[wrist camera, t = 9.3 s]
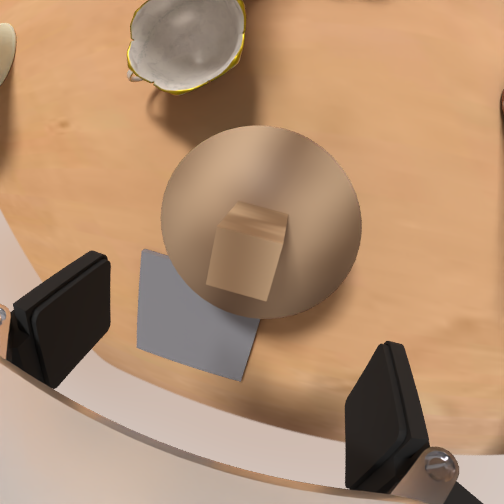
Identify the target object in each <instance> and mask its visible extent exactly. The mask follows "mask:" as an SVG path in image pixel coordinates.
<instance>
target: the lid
mask: <svg viewBox="0 0 504 504" xmlns="http://www.w3.org/2000/svg"><path fill="white" fill-rule="evenodd" d="M361 229H362V220H361V212H360V206H359V202H358V199H357V195H356V193H355V190H354V188H353V186H352V183H351V181H350V180H349V178H348V176H347V175H346V173H345V172H344V170H343V168H342V167H341V166H340V165H339V164H338V162H337V161H336V160H335V159H334V158H333V157H332V156H331V155H330V154H329V153H328V152H327V151H326V150H325V149H323V148H322V147H321V146H320V145H318V144H317V143H315V142H314V141H312V140H311V139H309V138H307V137H305V136H303V135H301V134H299V133H296V132H293V131H290V130H287V129H284V128H278V127H272V126H244V127H238V128H234V129H230V130H226V131H223V132H221V133H218V134H216V135H213V136H212V137H210V138H208V139H206V140H205V141H203V142H201V143H200V144H199V145H197V146H196V147H195V148H194V149H192V150H191V151H190V152H189V153H188V154H187V155H186V156H185V157H184V158H183V159H182V161H181V162H180V163H179V165H178V166H177V168H176V169H175V170H174V172H173V174H172V176H171V178H170V180H169V182H168V184H167V187H166V190H165V193H164V197H163V202H162V208H161V230H162V235H163V240H164V244H165V247H166V250H167V253H168V256H169V258H170V260H171V262H172V264H173V266H174V267H175V269H176V271H177V272H178V274H179V275H180V276H181V278H182V279H183V280H184V281H185V283H186V284H187V285H188V286H189V287H190V288H191V289H192V290H193V291H194V292H195V293H196V294H198V295H199V296H200V297H202V298H203V299H204V300H206V301H207V302H209V303H210V304H212V305H214V306H216V307H218V308H220V309H222V310H224V311H226V312H229V313H232V314H235V315H239V316H243V317H248V318H257V319H274V318H282V317H287V316H291V315H295V314H298V313H301V312H303V311H306V310H308V309H310V308H312V307H314V306H316V305H318V304H319V303H320V302H322V301H323V300H325V299H326V298H327V297H329V296H330V295H331V294H332V293H333V292H334V291H335V290H336V289H337V288H338V287H339V286H340V284H341V283H342V282H343V281H344V280H345V278H346V276H347V275H348V273H349V272H350V270H351V268H352V266H353V264H354V261H355V259H356V256H357V253H358V250H359V246H360V240H361Z"/></svg>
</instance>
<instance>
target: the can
mask: <svg viewBox="0 0 504 504" xmlns="http://www.w3.org/2000/svg"><path fill="white" fill-rule="evenodd" d="M15 49H16V34H15V30H14V28H13V27H12V26H11V25H10V24H8V23H0V85H1V84H2V83H3V81H4V80H5V78H6V76H7V74H8V72H9V70H10V67H11V65H12V62H13V58H14V55H15Z"/></svg>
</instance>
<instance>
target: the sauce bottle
mask: <svg viewBox="0 0 504 504" xmlns="http://www.w3.org/2000/svg"><path fill="white" fill-rule="evenodd" d="M501 103H502V110H503V114H504V89H503V93H502V99H501Z"/></svg>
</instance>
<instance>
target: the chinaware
mask: <svg viewBox="0 0 504 504" xmlns="http://www.w3.org/2000/svg"><path fill="white" fill-rule="evenodd" d="M245 30H246V12H245V4H244V2H243V1H242V0H148V1H146V2H145V3H144V4H143V5H142V6H141V7H140V8H138V9H137V10H136V11H135V13H134V16H133V19H132V21H131V25H130V32H131V39H133V40H134V41H131V42H130V45H129V48H128V51H127V60H128V68H129V69H130V70H129V71H128V72H127V77H128V79H129V81H131V82H138V81H142V80H145V81H147V82H149V83H154V84H153V85H154V86H156V87H157V88H158V89H160V90H161V91H164V92H167V93H170V94H172V95H176V96H178V95H183V94H184V93H187V92H191V91H193V90H196V89H198V88H200V87H202V86H204V85H206V84H208V82H209V81H213V80H215V79H217V78H218V77H220V76H222V75H224V74H225V73H226V72H228V71H229V70H230V69H231V68H233V67H235V66H236V65H237V64H238V63H239V61H240V58H241V53H242V51H243V47H244V40H245V34H244V32H245ZM133 73H134V74H135V75H136V77H132V74H133Z"/></svg>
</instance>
